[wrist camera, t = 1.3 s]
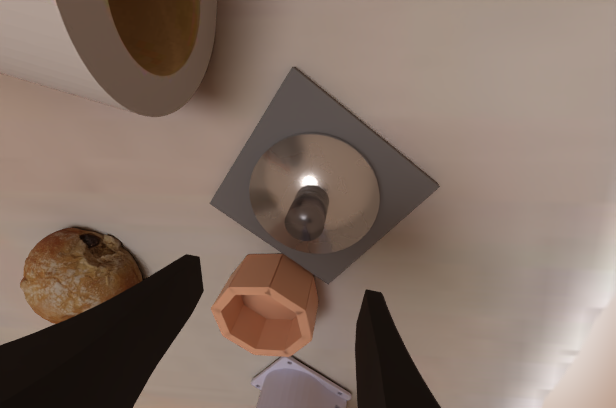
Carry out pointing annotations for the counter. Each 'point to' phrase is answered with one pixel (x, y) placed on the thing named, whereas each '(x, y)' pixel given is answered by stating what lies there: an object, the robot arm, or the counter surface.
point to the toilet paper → (111, 49)
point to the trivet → (338, 122)
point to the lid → (314, 193)
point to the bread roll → (76, 273)
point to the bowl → (268, 305)
